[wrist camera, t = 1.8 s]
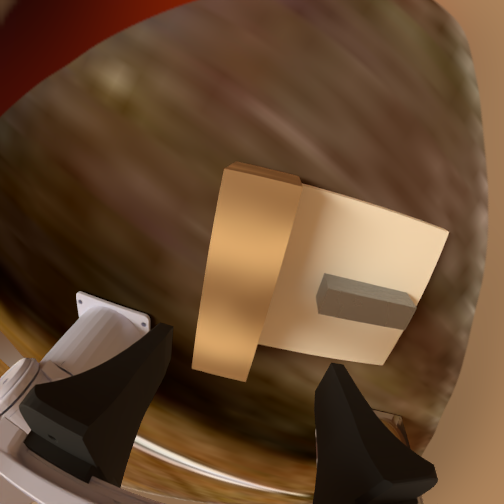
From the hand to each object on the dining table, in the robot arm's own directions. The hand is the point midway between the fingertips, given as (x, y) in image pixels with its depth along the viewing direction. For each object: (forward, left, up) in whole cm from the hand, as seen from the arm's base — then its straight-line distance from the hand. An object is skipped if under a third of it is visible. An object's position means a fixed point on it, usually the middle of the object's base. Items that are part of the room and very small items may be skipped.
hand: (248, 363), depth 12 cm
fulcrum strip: (0, -8, -10) cm, 12 cm away
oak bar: (0, +1, -9) cm, 9 cm away
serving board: (0, -5, -10) cm, 11 cm away
